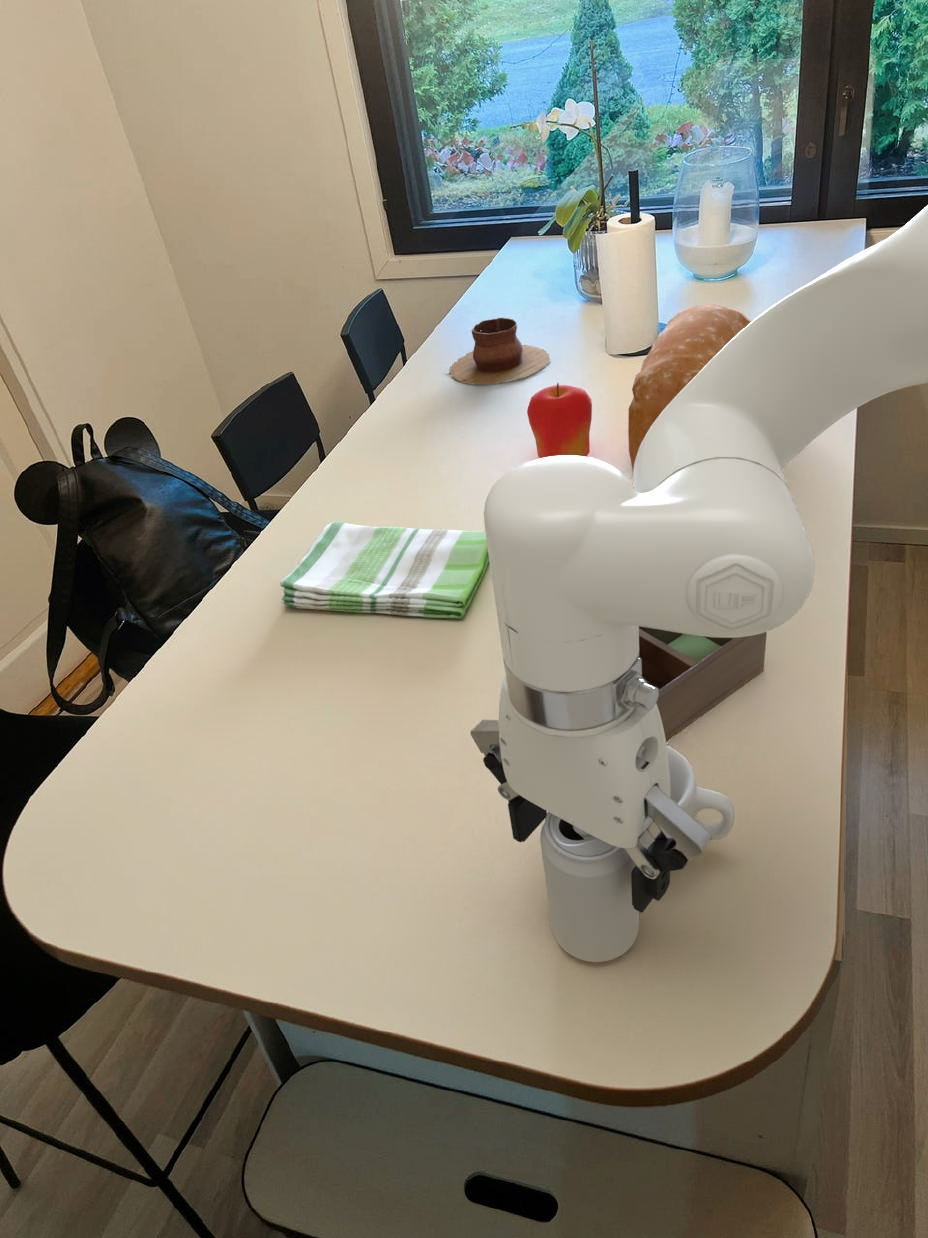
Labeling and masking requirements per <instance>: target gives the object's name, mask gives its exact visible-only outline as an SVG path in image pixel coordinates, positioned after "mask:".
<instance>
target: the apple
mask: <svg viewBox="0 0 928 1238" xmlns="http://www.w3.org/2000/svg"><path fill="white" fill-rule="evenodd" d="M529 400H530V401H529V402H528V406H527V409H526V413H527V414H526V415H527V418H528V422H529V426H530V428H531V431H532V434H533V437H534V439H535V446H536V453H537V457H538V459H539V458H545V457H550V456H561V455H573V456H584V457H588V455H589V454H590V453H591V450H590V448H591V447H590V431H591V425H592V417H593V416H592V415H593V400H592V398H591V396H590V395H589V394H588V392H587V391H586V390H585V389H583V388H581V387H577V386H572V385H566V384H559V382H557V383H556V385H551V386H547V387H544V388H542V389H540V390H539V391H537V392H535V393H534V394H533V395H532V396H531V397H530V399H529Z"/></svg>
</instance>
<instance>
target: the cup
mask: <svg viewBox="0 0 928 1238" xmlns="http://www.w3.org/2000/svg"><path fill="white" fill-rule="evenodd" d="M667 752H668V761H669V773H670V798H671V799H672V800H674V801H675V802H676V803H677V804H678V805H679V806H680V807H682V808H683V809H684V810H685V811H686V812H687V813H689V814H690V815H691V816H692V817H693V818H694V819H695V820H697V821H698V822H699V823H700V824H701V825H702V826H703V827H705V828H706V829H707V830H708V831H709V832H710V833H711V835H712V839H711V841H716V840H717V841H718V840H722V839H724V838H725V837H726V836H728V835H729V834H730V832H731V831H732V829H733V827H734V823H735V808H734V805H733V803H732V800H731V799H730V798H729V797H728V796H727V795H725V794H723V793H721V792H720V791H717V790H713V789H707V788H702V787H700V786H698V785H697V779H696V774H695V771H694V768H693V766H692V765H691V763H690V761H688V759H687V758H686V757H685V756H684V755H683V754H682V753H680V752H679V751H678V750H676V749H674V748H673V747H671V746H670V745H667ZM706 809H707V810H714V811H717V812H719V813H720V814H721V816H722V818H721V819H720V820H719V821H718V822H716V823H706V822H704V821H702V820H700V819H699V818H698V816H697V814H698V813H699V812H700V811H702V810H706ZM639 840H640V841H641V842H642V844H643V845H644V846H645V848H646V849H648V847H649V846H650V845H651V843H652V842H653V841H655V840H654V839H653V838H652V836H651V835H650V834H649V832H648V831H647V830H646V831H645V833H644V834H643V835H642V836H641V838H640V839H639Z"/></svg>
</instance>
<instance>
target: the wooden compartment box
mask: <svg viewBox="0 0 928 1238" xmlns="http://www.w3.org/2000/svg"><path fill="white" fill-rule="evenodd" d="M767 633H768V631H767V632H764V633H761V634H757V635H752V636H745V637H736V638H720V637H705V636H697V635H690V634H683V633H677V632H671V631H665V630H660V629H653V628H647V627H641V626H639V656H640V658H641V659H642V677H643V678H644V680H646V681H647V682H648V684H649V685H652V686H654V687H656V688H658V689H659V696H658V700H657V702H656V704H657V706H658V710H659V713H660V717H661V720H662V724H663V729H664V734H665V739H666V742H667V741H669V740H670V739H672V738H674V737H675V736H676V735H677V734H678V733H680V732H682V731H683V730H684V729H685V728H687V727H688V726H689V725H691V724H692V723H694V722H695V721H697V720H698V719H699V718H701V717H702V716H703V715H704V714H707V712H709V711H710V710H711V709H713V708H715V707H716V706H717V705H718V704H720V703H721V702H722V701H724V700H726V698H728V697H730V695H732V694H734V693H735V692H736V691H738V690H739V689H740V688H742V687H743V686H745V685H746V684H747V683H748V682H750V681H752V679H754V678H756V677H757V676H758V675H760V674H761V673H763V671H765V660H766V659H765V656H766V646H767Z"/></svg>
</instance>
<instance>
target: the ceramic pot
mask: <svg viewBox="0 0 928 1238" xmlns="http://www.w3.org/2000/svg"><path fill="white" fill-rule="evenodd" d="M517 331H518V323H517V321H516V320H515V319H513V318H509V317H497V318H491V319H485V320H482V321H480V322H479V323H477V324H475V325H474V326H473V328H472V329H471V335H472V338H473V341H474V347H473V351H470V352H468V353H466V354H465V355H463V356H461V357H460V358H457V361H454V362H453V363H452V364H451V366H450V369H449V371H448V373H449V374H451V377H452V378H453V379H454V380H455V381H458V382H460V383H462V384H464V385H465V384H467V385H468V384H469V385H471V384H472V385H485V386H488V385H496V384H504V383H506V382H511V381H516V380H519V379H525V378H527V377H528V376H531V375H532V374H536V373H538V372H539V370H542V369H544V368H545V367H546V366H548V363H550V361H551V359H550V354H549V353H548V352H547V351H546V350H544V349H543V348H540V347H538V346H534V345H528V344H522V342H521V340H520V339H519V338H518V336H517Z"/></svg>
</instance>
